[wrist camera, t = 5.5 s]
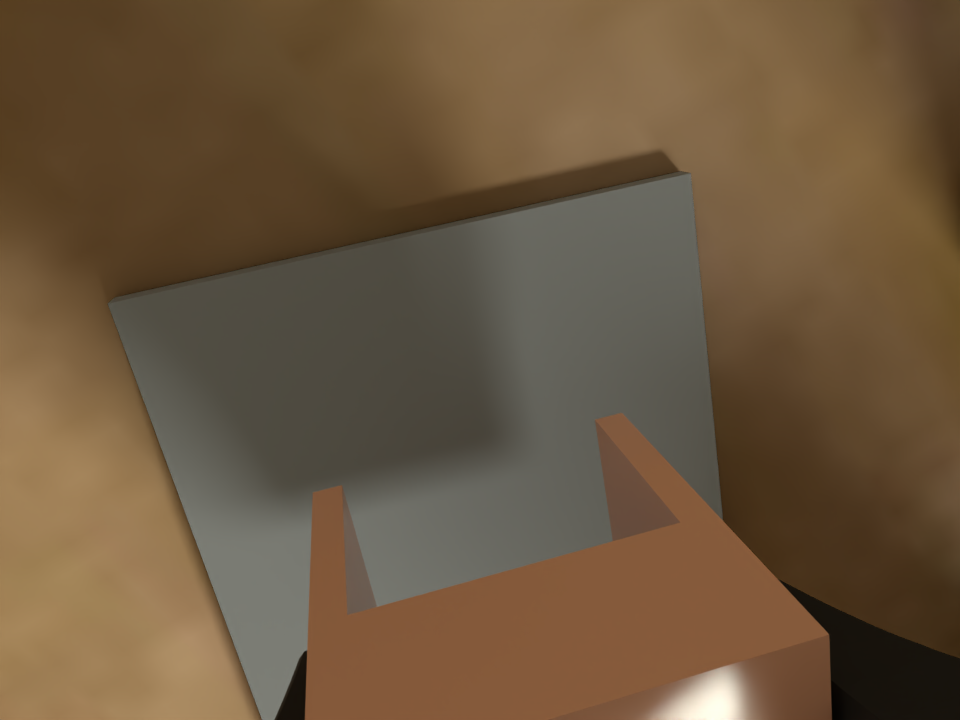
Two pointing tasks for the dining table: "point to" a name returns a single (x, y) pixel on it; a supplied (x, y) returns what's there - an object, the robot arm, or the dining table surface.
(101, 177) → the dining table surface
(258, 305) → the slate mat
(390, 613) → the terracotta cover
